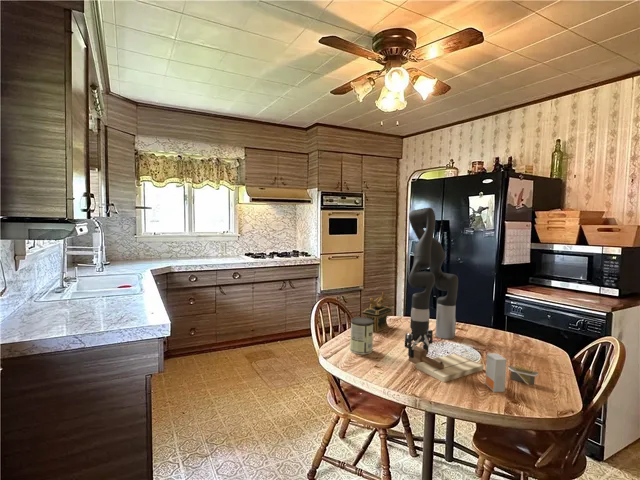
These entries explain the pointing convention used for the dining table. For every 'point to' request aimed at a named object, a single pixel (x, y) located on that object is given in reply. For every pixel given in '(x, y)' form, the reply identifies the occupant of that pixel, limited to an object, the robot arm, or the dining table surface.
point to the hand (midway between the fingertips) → (418, 355)
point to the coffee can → (361, 335)
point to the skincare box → (495, 372)
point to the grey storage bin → (523, 374)
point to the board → (450, 367)
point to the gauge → (424, 358)
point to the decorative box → (378, 313)
